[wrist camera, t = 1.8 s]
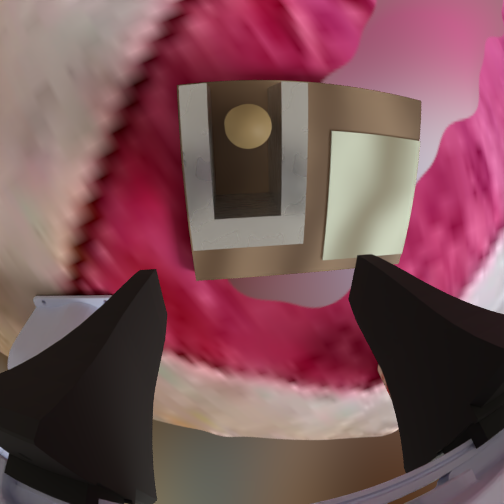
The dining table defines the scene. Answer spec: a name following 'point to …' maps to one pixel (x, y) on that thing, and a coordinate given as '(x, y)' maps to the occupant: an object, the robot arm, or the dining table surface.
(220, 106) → the board
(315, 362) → the dining table surface
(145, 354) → the robot arm
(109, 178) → the dining table surface
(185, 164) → the c link
